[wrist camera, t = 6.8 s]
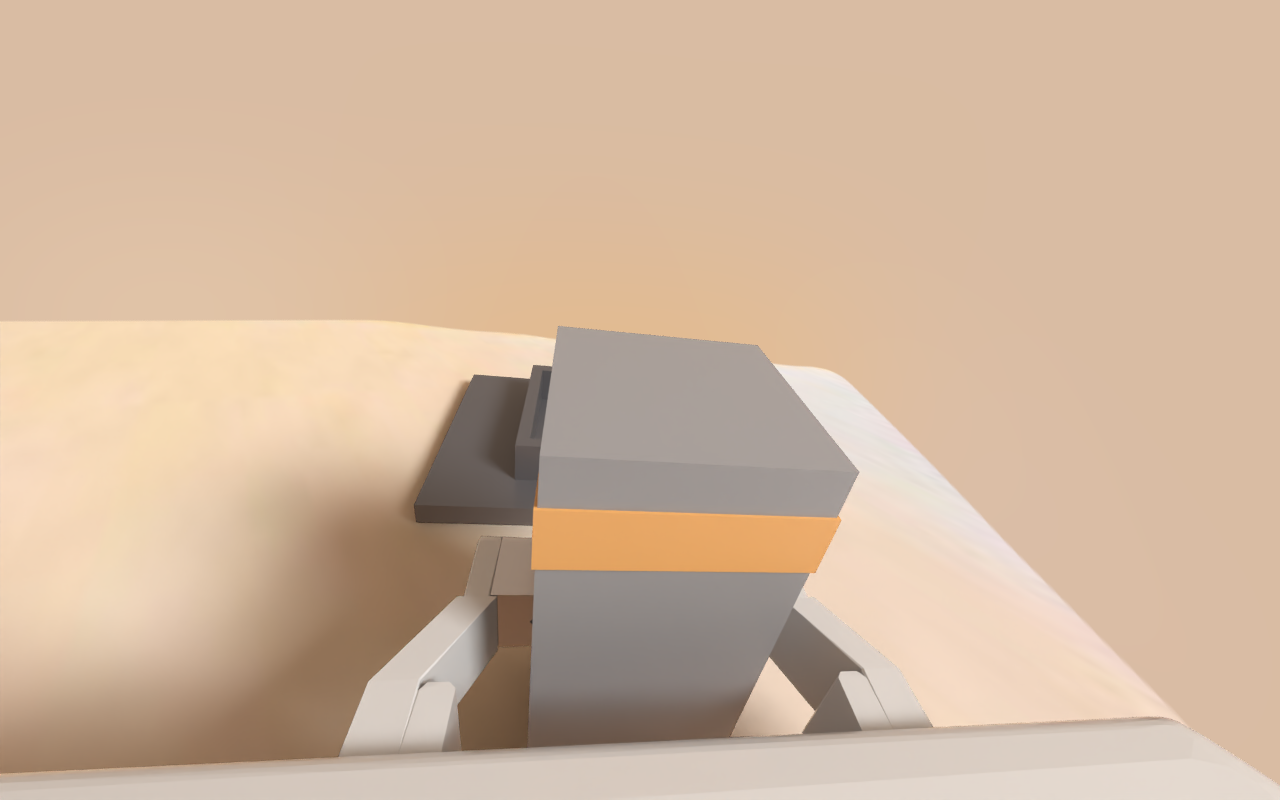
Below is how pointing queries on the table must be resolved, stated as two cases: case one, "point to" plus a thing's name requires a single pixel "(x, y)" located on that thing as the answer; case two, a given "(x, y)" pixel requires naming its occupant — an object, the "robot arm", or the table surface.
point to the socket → (489, 454)
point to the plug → (668, 534)
